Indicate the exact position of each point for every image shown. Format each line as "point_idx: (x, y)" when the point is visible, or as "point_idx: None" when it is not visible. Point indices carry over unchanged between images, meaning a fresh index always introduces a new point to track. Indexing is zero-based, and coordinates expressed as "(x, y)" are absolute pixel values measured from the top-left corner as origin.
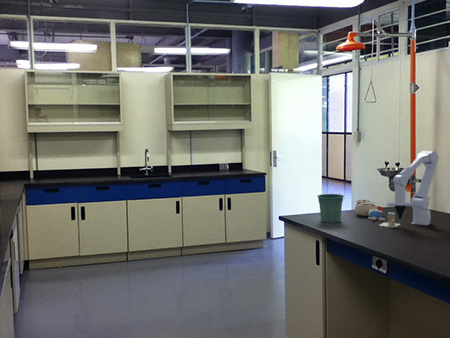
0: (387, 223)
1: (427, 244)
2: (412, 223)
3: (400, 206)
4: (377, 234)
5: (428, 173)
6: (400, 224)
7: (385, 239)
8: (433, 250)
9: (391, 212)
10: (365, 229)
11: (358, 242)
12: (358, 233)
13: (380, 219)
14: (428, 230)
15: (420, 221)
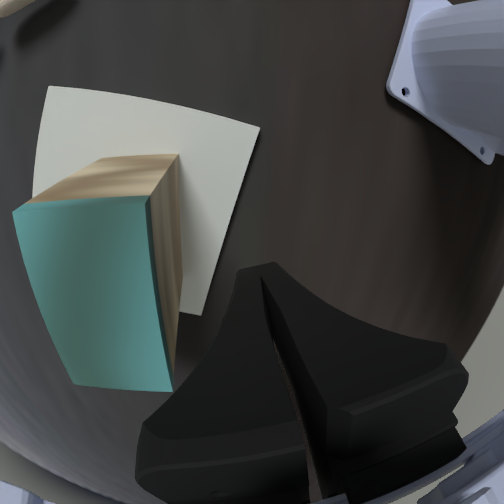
0: (90, 137)
1: (318, 485)
2: (400, 99)
3: (337, 481)
4: (128, 455)
5: None
6: (258, 128)
7: None
8: (314, 500)
9: (72, 217)
10: (22, 381)
11: (115, 496)
12: (48, 439)
13: (15, 10)
14: (429, 332)
15: (476, 131)
